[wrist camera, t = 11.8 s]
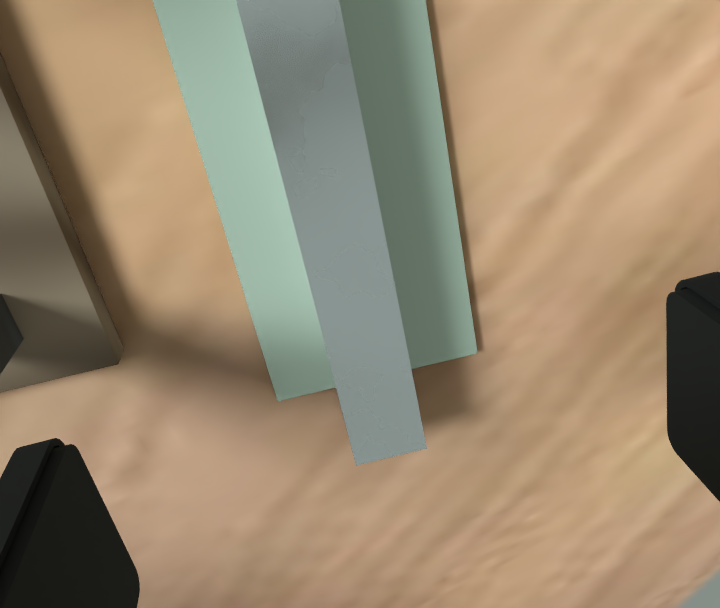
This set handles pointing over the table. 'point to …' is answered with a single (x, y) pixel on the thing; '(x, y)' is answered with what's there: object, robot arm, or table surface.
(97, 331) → the hook stand
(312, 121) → the rail
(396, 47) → the mat
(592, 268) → the table surface
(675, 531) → the table surface
